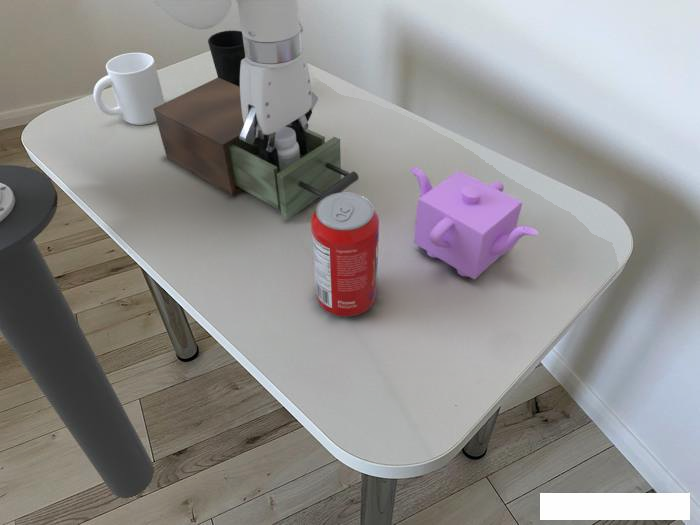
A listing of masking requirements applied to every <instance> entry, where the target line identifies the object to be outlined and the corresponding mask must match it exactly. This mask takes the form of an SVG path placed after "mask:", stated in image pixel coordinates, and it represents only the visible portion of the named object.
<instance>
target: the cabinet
mask: <svg viewBox="0 0 700 525" xmlns="http://www.w3.org/2000/svg"><path fill="white" fill-rule="evenodd" d="M154 113H155V116H156V120H157V121H156V123H157V127H158V131H159V134H160V138H161V142H162V146H163V149H164V153H165V157H166V159H167V160H169V161H170V162H172V163H174V164H175V165H177V166H179V167H181V168H182V169H184V170H186V171H188V172H189V173H191V174H193V175H194V176H196V177H198V178H200V179H202V180H203V181H205V182H207V183H208V184H210V185H212V186H214V187H215V188H217V189H219V190H221V191H222V192H224V193H226V194H227V195H229V196H231V197H235V195H237V194H239V193H240V192H242V191H244V190H243V189H241V188H239V187H238V186H236V185H234V179H233V174H232V168H231V163H230V157H229V152H228V146H230V145H232V144H233V143H235V142H237V141H239V140H240V138H239V136H240V133H241V131H242V128H243V126H244V122H243V117H242V109H241V97H240V87H239V86H236V85H234V84H232V83H230V82H227V81H225V80H223V79H221V78H218V77H216V78H213V79H212V80H210V81H207V82H205V83H203V84H201V85H199V86H197V87H195V88H193V89H191V90H189V91H187V92H185V93H182V94H181V95H179V96H177V97H174V98H172V99H171V100H168V101H165V103H164V104H162V105H160V106H158V107H156V108H154ZM255 131H256V130H255Z"/></svg>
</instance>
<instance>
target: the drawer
mask: <svg viewBox="0 0 700 525" xmlns="http://www.w3.org/2000/svg"><path fill="white" fill-rule="evenodd" d="M290 125H291V124H288V125H286V126H285V127H288V126H290ZM305 132H306V145H307V154H305V155H301V154H300V159H299V160H298V161H296V162H295V163H293V164H292V165H290V166H288V167H287V168H285V169H284V170H282V171H281V172H279V173H278V168H277V167H276V166H274V165H272V164H270V163H268V162H267V161H265V160H263V159H261V156H260V149H259V147H257V146H255V145H252V144H249V143H246V142H244V141H242V140H239V141H237V142H235V143H233V144H232V145H230V146H228V152H229V157H230V163H231V168H232V174H233V179H234V185H236V186H238V187H239V188H241V189H243V190H242V191H245V192H246V193H248V194H250V195H251V196H254V197H255V198H257V199H259V200H260V201H263V202H264V203H266V204H268V205H270V206H271V207H273V208H275V209H277V210H280V215H281V218H283V219H285V220H286V221H288V220H289V219H291V218H293V217H294V216H295V215H296V214H298V213H299V212H301V211H302V210H304V209H305V208H306V207H307V206H309V205H310V204H311V203H313V202H314V201H316V200H318V199H319V200H320V201H321V200H323V199H324V198H325V197H327V196H329V195H332V194H335V193H341V192H344V191H345V190H346V189H348V188H349V187H350V186H352V185H353V184H354V183H356V182H357V181H358V180H359V175H358V173H357V172H356V171H354V170H353V171H351V172H349V171H348V170H347V171H346V170H345V169H343V168H342V163H341V162H342V160H341V159H342V158H341V139H340V138H339V137H336V136H333V137H331V138H330V139H328V140H327V141H326V138H325V137H326V136H325V135H322V134H320V133H318V132H315V131H313V130H312V129H309V128H308V129H307V130H306V131H305ZM255 135H256V131H255V132H254V136H255ZM266 139H267V135H265V134H264V139H263V140H264V141H266ZM342 176H343V177H342Z"/></svg>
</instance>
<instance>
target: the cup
mask: <svg viewBox="0 0 700 525" xmlns="http://www.w3.org/2000/svg"><path fill="white" fill-rule="evenodd" d="M207 43H208V47H209V51H210V54H211V58H212V61H213V65H214V69H215V72H216V75H217V78H221V79H223V80H225V81H227V82H230V83H232V84H234V85H236V86H239V87H240V67H241V60H242V59H244V58H245V50H244V43H243V36H242V30H224V31H220V32H216V33H214V34H212V35H210V36H209V37H208V39H207Z"/></svg>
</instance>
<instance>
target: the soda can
mask: <svg viewBox="0 0 700 525" xmlns="http://www.w3.org/2000/svg"><path fill="white" fill-rule="evenodd" d="M310 226H311V227H310V228H311V229H310V230H311V231H310V232H311V242H312V243H311V244H312V256H313V257H312V258H313V270H314V284H315V296H316V300H317V302H318V304H319V305H320V307H321V308H322V309H323V310H325V311H326V312H327V313H329V314H331V315H334V316H338V317H355V316H357V315H361V314H363V313H365V312H366V311H368V310H369V309H370V308H371V307H372V306H373V305H374V303H375V301H376V298H377V293H378V292H377V291H378V267H379V266H378V264H379V261H378V260H379V238H380V219H379V215H378V213H377V212H376V211H375V209H374V206H373V204H372V202H371V201H370V200H369V199H368V198H367V197H366V196H363V195H362V194H359V193H354V192H349V191H342V192H341V193H335V194H332V195H329V196H327V197H325V198H324V199H323V200H321V199H320V201H319V202H318V204H317V206H316V209H315V211H314V212H313V214H312V216H311V220H310Z"/></svg>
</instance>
